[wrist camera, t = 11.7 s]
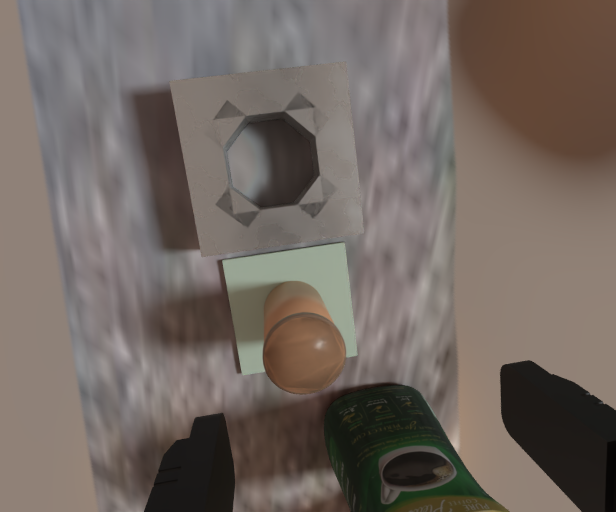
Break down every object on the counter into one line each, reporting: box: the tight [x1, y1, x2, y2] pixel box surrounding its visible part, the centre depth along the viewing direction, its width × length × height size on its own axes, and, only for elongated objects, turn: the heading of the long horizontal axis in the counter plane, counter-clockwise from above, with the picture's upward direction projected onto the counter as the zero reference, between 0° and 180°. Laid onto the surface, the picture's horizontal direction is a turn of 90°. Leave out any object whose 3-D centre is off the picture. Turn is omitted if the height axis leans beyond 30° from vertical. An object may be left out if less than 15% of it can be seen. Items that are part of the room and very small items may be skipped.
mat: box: [222, 242, 358, 375], centre depth 34 cm, size 10×10×1 cm
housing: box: [169, 62, 364, 257], centre depth 30 cm, size 12×12×4 cm
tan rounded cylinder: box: [263, 281, 346, 395], centre depth 30 cm, size 5×5×9 cm
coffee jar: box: [324, 385, 509, 512], centre depth 28 cm, size 10×8×19 cm
